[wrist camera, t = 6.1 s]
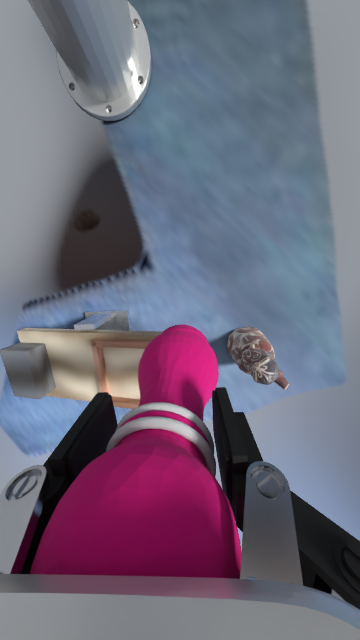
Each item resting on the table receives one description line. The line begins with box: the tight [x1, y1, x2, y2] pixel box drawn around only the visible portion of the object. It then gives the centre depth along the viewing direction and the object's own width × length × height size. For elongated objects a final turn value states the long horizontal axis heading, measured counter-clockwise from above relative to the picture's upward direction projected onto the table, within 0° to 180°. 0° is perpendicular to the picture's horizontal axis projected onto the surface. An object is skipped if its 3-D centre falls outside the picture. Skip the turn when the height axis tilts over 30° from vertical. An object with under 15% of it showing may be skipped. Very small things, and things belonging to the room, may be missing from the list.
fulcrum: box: [74, 310, 131, 331], centre depth 32 cm, size 15×8×8 cm, turn 3°
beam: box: [0, 328, 162, 409], centre depth 28 cm, size 12×25×4 cm, turn 93°
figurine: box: [227, 327, 289, 389], centre depth 30 cm, size 7×7×12 cm
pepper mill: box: [30, 325, 242, 579], centre depth 11 cm, size 7×7×20 cm
